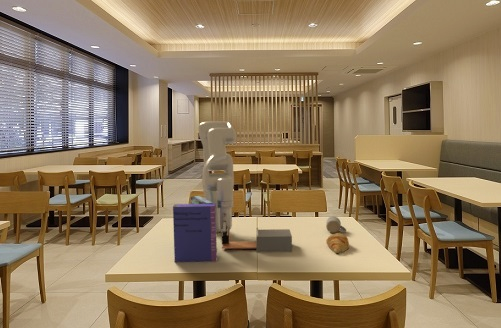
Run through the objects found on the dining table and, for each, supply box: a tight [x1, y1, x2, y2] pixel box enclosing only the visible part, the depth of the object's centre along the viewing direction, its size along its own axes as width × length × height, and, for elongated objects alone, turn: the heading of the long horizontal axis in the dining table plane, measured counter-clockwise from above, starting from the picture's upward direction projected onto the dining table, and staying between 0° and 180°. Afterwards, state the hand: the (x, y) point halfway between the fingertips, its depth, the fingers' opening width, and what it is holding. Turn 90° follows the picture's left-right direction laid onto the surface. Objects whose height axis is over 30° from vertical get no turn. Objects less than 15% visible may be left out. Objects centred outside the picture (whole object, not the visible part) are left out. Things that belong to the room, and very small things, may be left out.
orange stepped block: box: [221, 229, 257, 249], centre depth 173 cm, size 16×8×8 cm, turn 89°
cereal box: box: [172, 203, 218, 263], centre depth 157 cm, size 17×5×24 cm, turn 91°
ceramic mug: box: [325, 215, 347, 234], centre depth 198 cm, size 11×8×8 cm
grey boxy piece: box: [256, 227, 293, 253], centre depth 173 cm, size 16×12×8 cm
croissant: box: [325, 232, 350, 254], centre depth 172 cm, size 21×10×8 cm, turn 165°
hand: (225, 241), depth 173 cm, fingers open, 4 cm apart
